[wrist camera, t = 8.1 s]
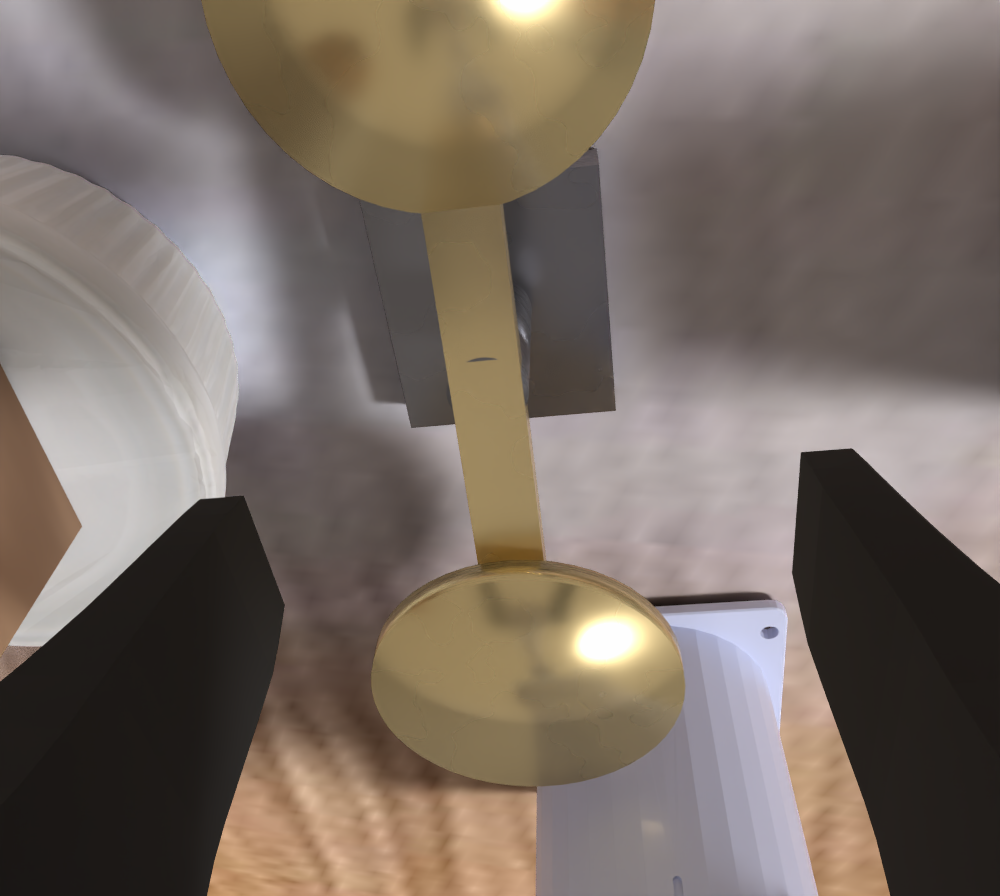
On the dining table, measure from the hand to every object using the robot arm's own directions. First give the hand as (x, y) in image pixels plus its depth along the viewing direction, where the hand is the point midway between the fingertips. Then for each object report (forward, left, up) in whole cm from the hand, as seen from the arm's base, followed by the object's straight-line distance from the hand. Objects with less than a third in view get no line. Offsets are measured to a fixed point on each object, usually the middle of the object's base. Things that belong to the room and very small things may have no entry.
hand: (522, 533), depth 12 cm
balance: (-2, +1, -10) cm, 11 cm away
